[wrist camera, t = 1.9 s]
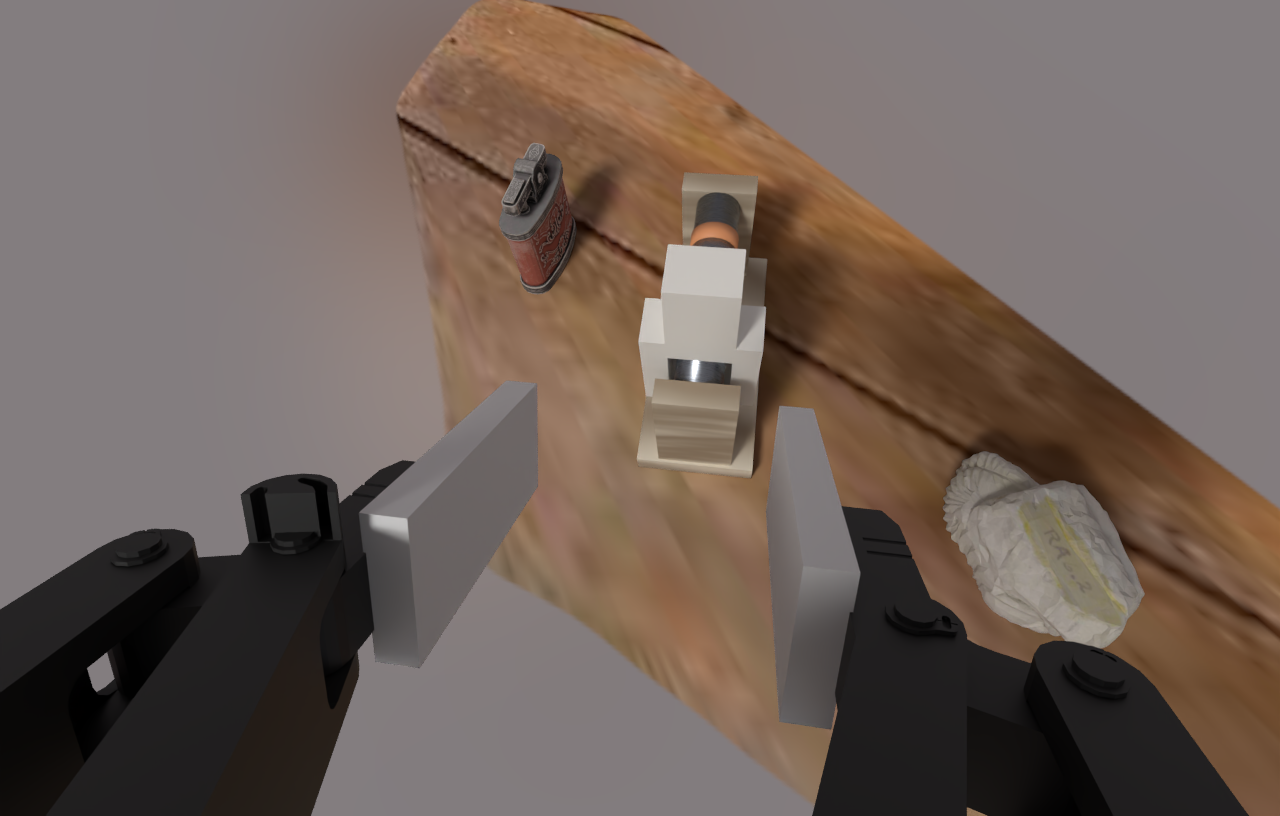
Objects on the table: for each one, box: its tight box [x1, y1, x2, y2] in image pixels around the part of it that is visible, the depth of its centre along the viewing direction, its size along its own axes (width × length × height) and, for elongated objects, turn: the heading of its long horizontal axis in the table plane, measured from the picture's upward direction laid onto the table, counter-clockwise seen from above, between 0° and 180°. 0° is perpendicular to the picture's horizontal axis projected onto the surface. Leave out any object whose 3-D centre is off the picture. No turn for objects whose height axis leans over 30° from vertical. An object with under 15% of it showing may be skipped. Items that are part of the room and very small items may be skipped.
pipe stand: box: [637, 173, 767, 478], centre depth 46 cm, size 18×8×11 cm, turn 172°
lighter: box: [499, 143, 577, 294], centre depth 52 cm, size 8×3×10 cm, turn 162°
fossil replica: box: [943, 451, 1145, 648], centre depth 40 cm, size 12×8×10 cm
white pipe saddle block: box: [639, 244, 766, 406], centre depth 39 cm, size 3×7×12 cm, turn 82°
